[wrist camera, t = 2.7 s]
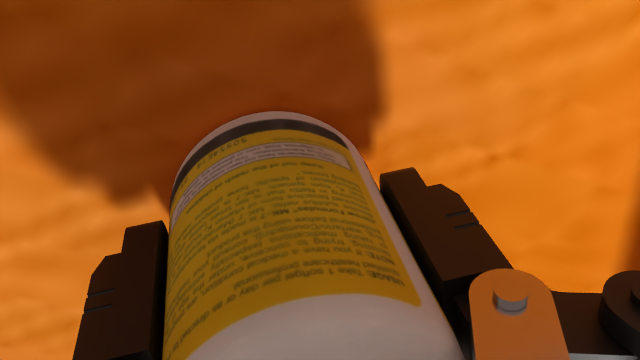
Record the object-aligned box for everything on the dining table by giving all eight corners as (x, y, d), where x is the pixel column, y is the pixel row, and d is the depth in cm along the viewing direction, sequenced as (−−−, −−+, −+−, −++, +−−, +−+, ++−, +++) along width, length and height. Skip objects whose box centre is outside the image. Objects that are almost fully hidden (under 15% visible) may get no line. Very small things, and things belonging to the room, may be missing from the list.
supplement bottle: (126, 195, 13) (44, 648, 6) (283, 62, 12) (419, 408, 5) (264, 298, 15) (326, 700, 8) (402, 195, 14) (607, 550, 7)
